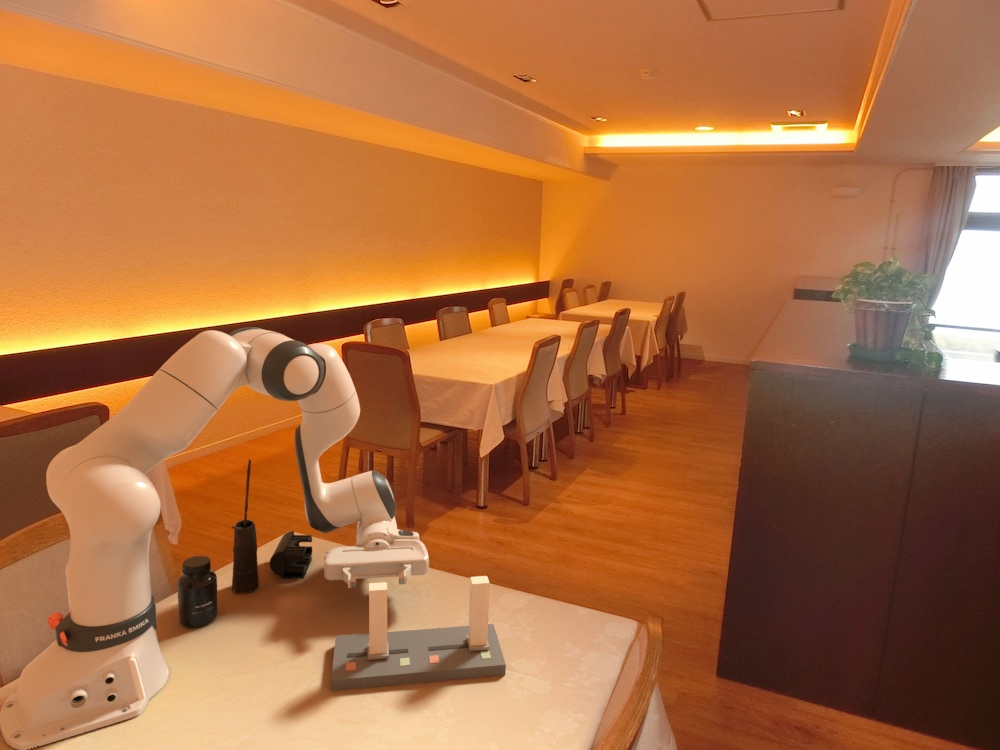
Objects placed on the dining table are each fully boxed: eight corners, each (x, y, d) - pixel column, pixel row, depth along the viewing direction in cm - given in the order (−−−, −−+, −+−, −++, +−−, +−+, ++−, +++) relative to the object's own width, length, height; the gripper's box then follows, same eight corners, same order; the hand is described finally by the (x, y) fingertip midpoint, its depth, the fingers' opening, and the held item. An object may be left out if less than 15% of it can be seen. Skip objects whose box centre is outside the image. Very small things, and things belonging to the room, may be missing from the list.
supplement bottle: (203, 631, 119) (199, 572, 116) (171, 626, 120) (166, 567, 118) (226, 611, 126) (223, 555, 123) (195, 606, 127) (191, 550, 124)
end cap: (281, 557, 147) (280, 530, 146) (312, 557, 148) (312, 530, 146) (269, 580, 137) (268, 551, 136) (303, 580, 138) (302, 551, 137)
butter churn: (226, 608, 127) (219, 474, 121) (210, 587, 134) (203, 460, 128) (272, 592, 133) (267, 464, 127) (254, 574, 140) (249, 451, 134)
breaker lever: (469, 651, 113) (471, 586, 110) (466, 637, 117) (468, 574, 114) (489, 649, 113) (492, 585, 111) (485, 635, 117) (488, 573, 115)
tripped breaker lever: (367, 659, 109) (367, 593, 107) (367, 645, 113) (367, 580, 111) (388, 658, 110) (389, 591, 107) (388, 643, 114) (388, 579, 111)
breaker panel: (331, 690, 105) (331, 679, 104) (335, 645, 116) (335, 635, 116) (505, 674, 110) (505, 664, 110) (493, 633, 122) (493, 623, 122)
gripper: (325, 536, 131) (319, 570, 118) (425, 531, 135) (431, 564, 122) (325, 564, 132) (320, 601, 119) (425, 559, 136) (430, 594, 123)
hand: (377, 582), depth 120 cm, fingers open, 8 cm apart
